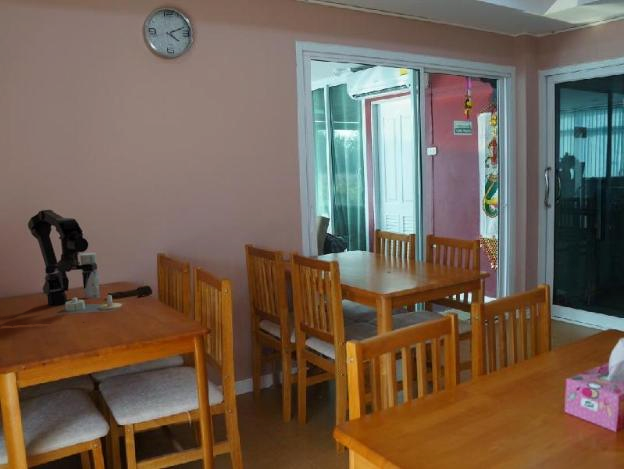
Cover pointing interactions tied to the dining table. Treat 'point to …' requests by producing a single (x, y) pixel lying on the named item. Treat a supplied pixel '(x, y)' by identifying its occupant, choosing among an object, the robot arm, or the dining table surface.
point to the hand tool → (132, 292)
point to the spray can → (91, 277)
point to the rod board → (96, 307)
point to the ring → (75, 305)
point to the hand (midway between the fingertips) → (73, 288)
